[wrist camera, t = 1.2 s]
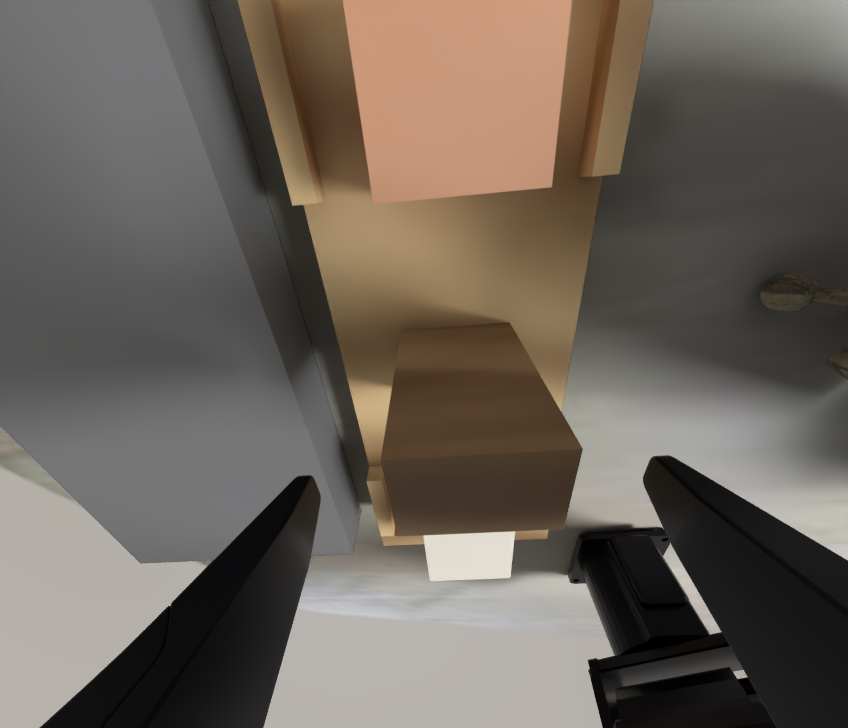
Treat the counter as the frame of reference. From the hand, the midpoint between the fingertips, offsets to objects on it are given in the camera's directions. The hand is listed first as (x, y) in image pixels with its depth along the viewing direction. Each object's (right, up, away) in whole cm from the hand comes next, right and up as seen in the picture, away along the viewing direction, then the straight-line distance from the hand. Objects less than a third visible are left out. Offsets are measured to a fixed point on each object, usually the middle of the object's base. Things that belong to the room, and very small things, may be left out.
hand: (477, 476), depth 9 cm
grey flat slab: (-14, +3, +8) cm, 16 cm away
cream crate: (+1, -4, +10) cm, 11 cm away
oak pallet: (0, +4, +7) cm, 8 cm away
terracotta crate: (-1, +11, +1) cm, 11 cm away
